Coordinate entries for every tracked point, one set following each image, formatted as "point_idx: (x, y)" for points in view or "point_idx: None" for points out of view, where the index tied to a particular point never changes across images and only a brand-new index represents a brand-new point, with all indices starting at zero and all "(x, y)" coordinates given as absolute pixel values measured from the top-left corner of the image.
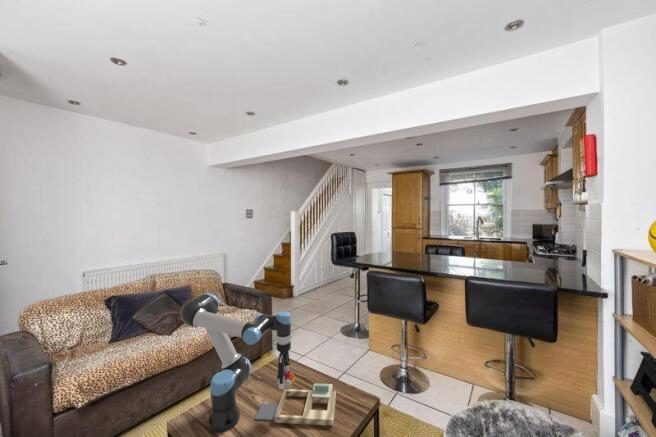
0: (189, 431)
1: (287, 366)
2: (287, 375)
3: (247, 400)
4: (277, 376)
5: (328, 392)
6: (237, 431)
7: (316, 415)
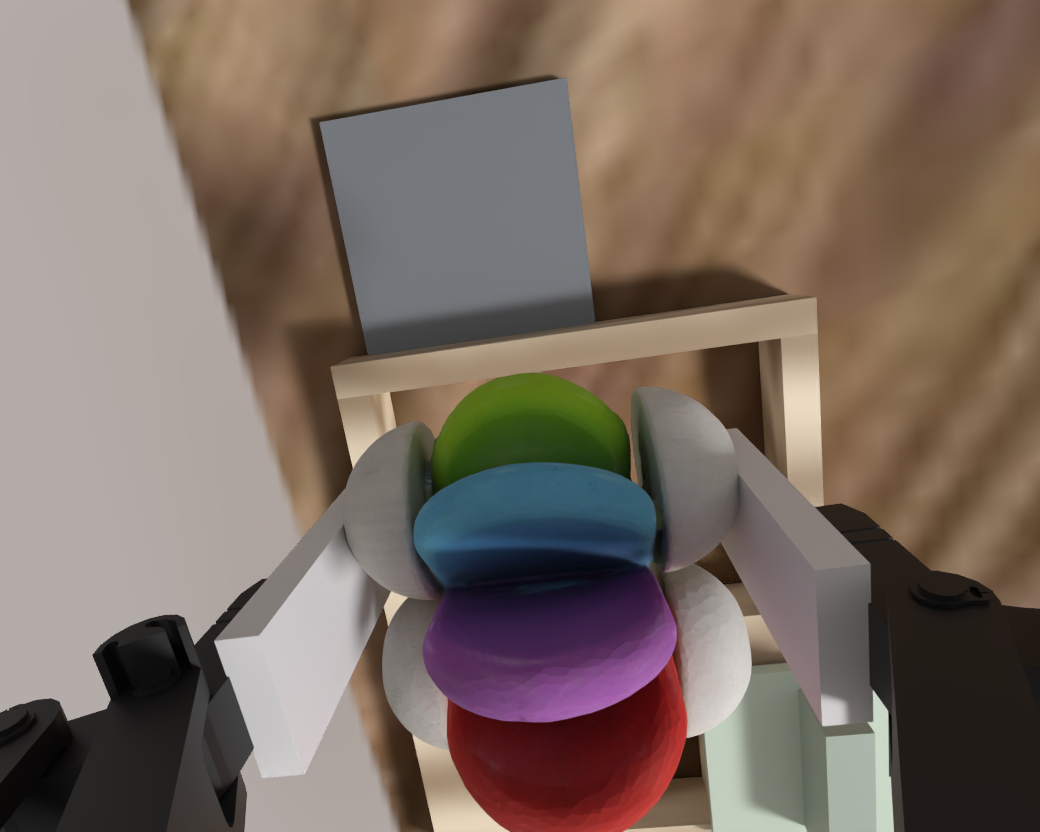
0: None
1: (829, 706)
2: (455, 765)
3: None
4: (100, 658)
5: (788, 827)
6: (130, 15)
7: None
